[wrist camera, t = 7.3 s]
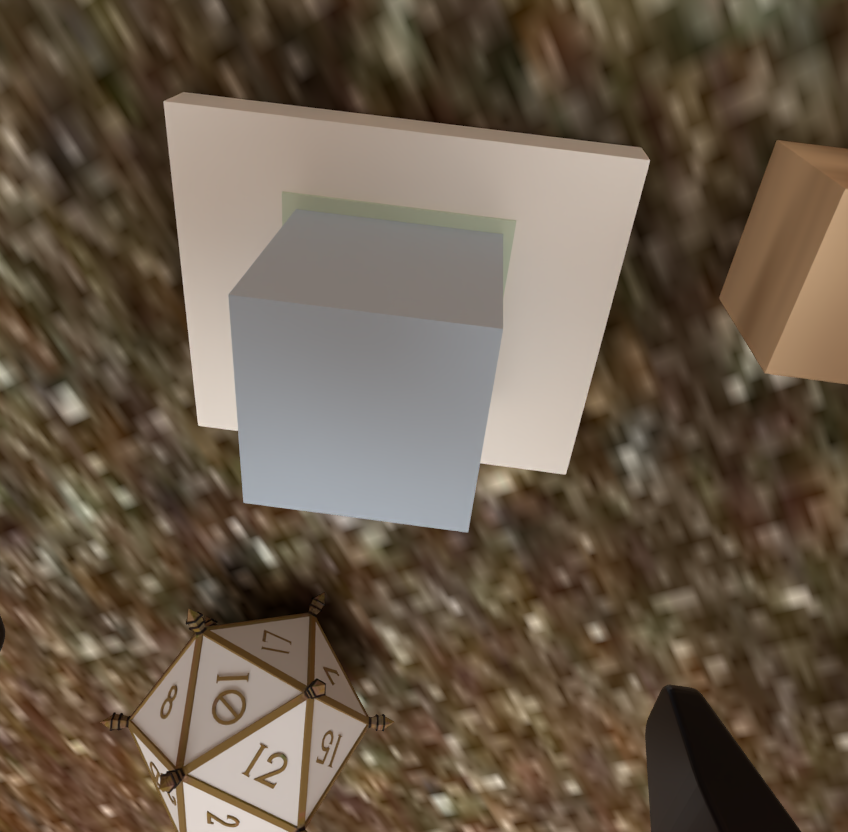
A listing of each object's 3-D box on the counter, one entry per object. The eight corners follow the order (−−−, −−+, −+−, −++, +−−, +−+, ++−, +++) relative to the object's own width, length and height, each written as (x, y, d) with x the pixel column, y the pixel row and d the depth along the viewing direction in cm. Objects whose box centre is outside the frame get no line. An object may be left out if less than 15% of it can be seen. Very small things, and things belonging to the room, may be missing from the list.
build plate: (641, 147, 17) (651, 161, 15) (563, 450, 22) (566, 476, 21) (183, 92, 17) (161, 102, 16) (212, 403, 22) (196, 427, 21)
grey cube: (502, 234, 17) (503, 328, 13) (475, 408, 19) (467, 532, 15) (295, 208, 17) (228, 294, 13) (297, 385, 20) (243, 502, 15)
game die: (297, 591, 32) (168, 815, 28) (178, 508, 26) (-8, 785, 22) (462, 671, 27) (333, 955, 23) (367, 593, 21) (168, 967, 17)
